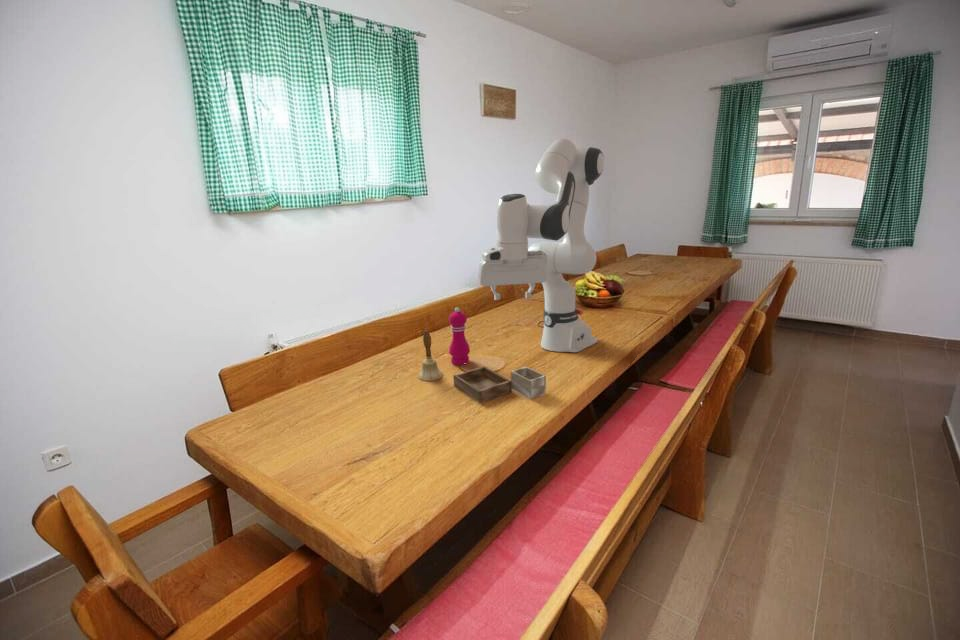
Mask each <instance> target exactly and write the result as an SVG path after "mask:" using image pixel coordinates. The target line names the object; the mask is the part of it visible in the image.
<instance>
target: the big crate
mask: <svg viewBox="0 0 960 640" xmlns="http://www.w3.org/2000/svg"><path fill="white" fill-rule="evenodd" d="M453 386H454V387H455V388H457V389H458V390H459V391H461V392H462V393H464V394H466V395H467V396H469V398H472V399H473V400H474V401H475V402H478V403H479V404H481V403H484V402H488V401H490V400H492V399H495V398H497V397H501V396H504V395H507V394H509V393H512V392H513V390H512V383H511V379H508V378H506V377H504V376H503V375H501V374H499V373H497V372H496V371H494V370H492V369H490V368H489V367H487V366H484V365H483V366H480V367H477V368H473V369H470V370H467V371H464V372H460V373H456V374H453Z"/></svg>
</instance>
